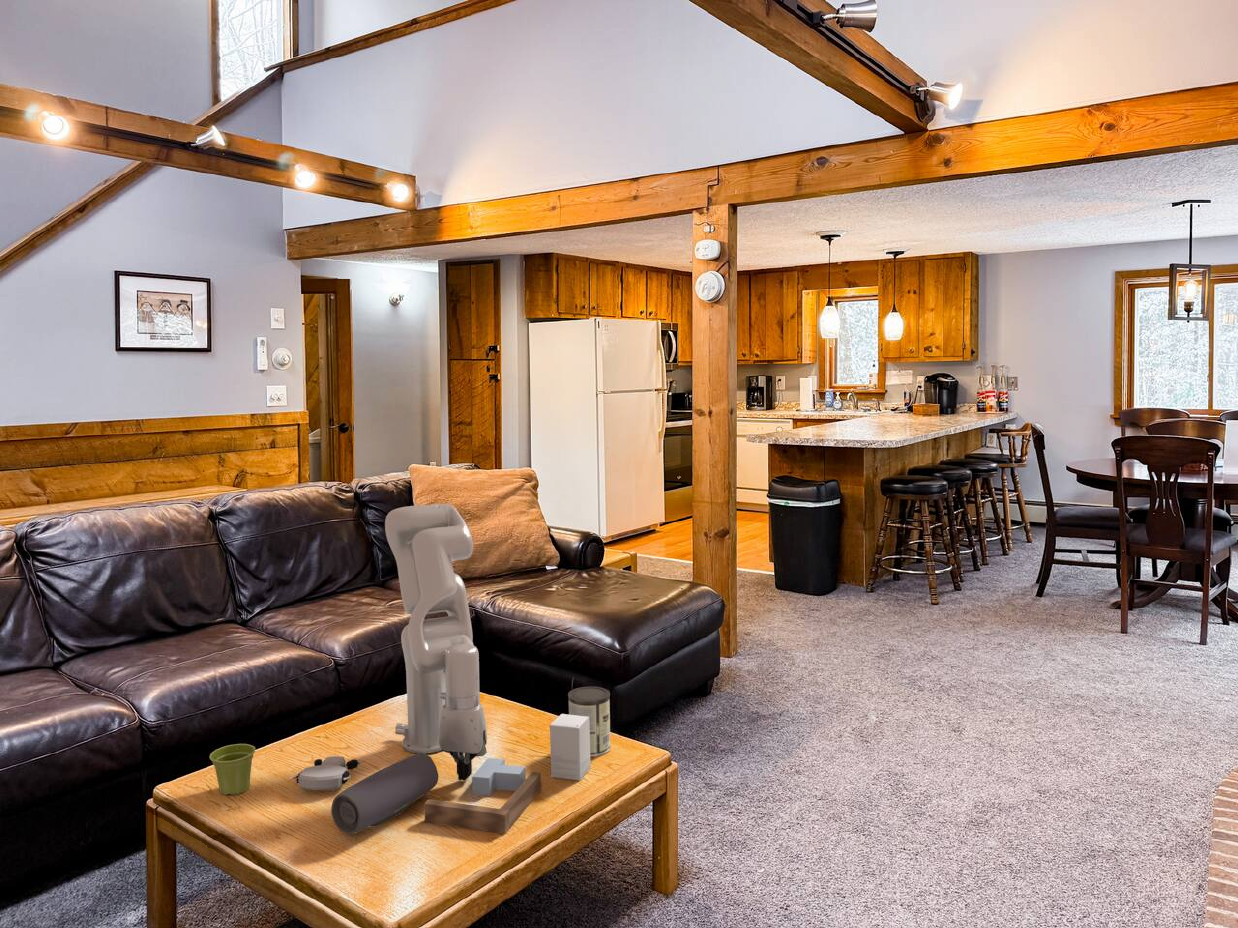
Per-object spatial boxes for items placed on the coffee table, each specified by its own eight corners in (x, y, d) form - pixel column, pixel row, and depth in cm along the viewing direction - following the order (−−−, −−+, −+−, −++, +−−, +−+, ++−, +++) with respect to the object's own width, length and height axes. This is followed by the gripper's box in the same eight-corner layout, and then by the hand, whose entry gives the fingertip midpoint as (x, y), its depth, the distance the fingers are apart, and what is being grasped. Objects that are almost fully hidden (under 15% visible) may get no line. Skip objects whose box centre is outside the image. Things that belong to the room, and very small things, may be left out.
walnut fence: (424, 821, 187) (424, 803, 187) (467, 780, 206) (467, 763, 206) (505, 833, 182) (504, 814, 182) (541, 789, 201) (540, 772, 201)
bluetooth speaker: (409, 789, 202) (408, 746, 201) (441, 798, 197) (439, 754, 196) (329, 833, 183) (327, 786, 182) (362, 845, 178) (360, 797, 177)
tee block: (472, 793, 200) (472, 776, 199) (488, 774, 209) (488, 757, 209) (515, 797, 197) (515, 780, 197) (529, 777, 207) (529, 760, 207)
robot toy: (313, 771, 214) (288, 796, 199) (313, 752, 214) (288, 776, 199) (365, 772, 213) (344, 797, 198) (365, 753, 213) (343, 776, 198)
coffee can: (572, 739, 229) (571, 685, 227) (612, 740, 228) (612, 686, 226) (565, 756, 219) (564, 700, 217) (608, 758, 218) (607, 701, 216)
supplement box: (591, 768, 212) (590, 716, 211) (579, 781, 205) (579, 727, 204) (562, 764, 214) (561, 712, 213) (549, 777, 208) (549, 724, 206)
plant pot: (223, 803, 196) (221, 764, 195) (204, 790, 202) (202, 752, 201) (264, 788, 203) (262, 751, 202) (245, 776, 209) (243, 740, 208)
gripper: (424, 702, 202) (426, 781, 204) (486, 709, 198) (488, 789, 200) (439, 691, 209) (441, 767, 211) (500, 697, 205) (501, 774, 207)
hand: (464, 777), depth 205 cm, fingers closed
